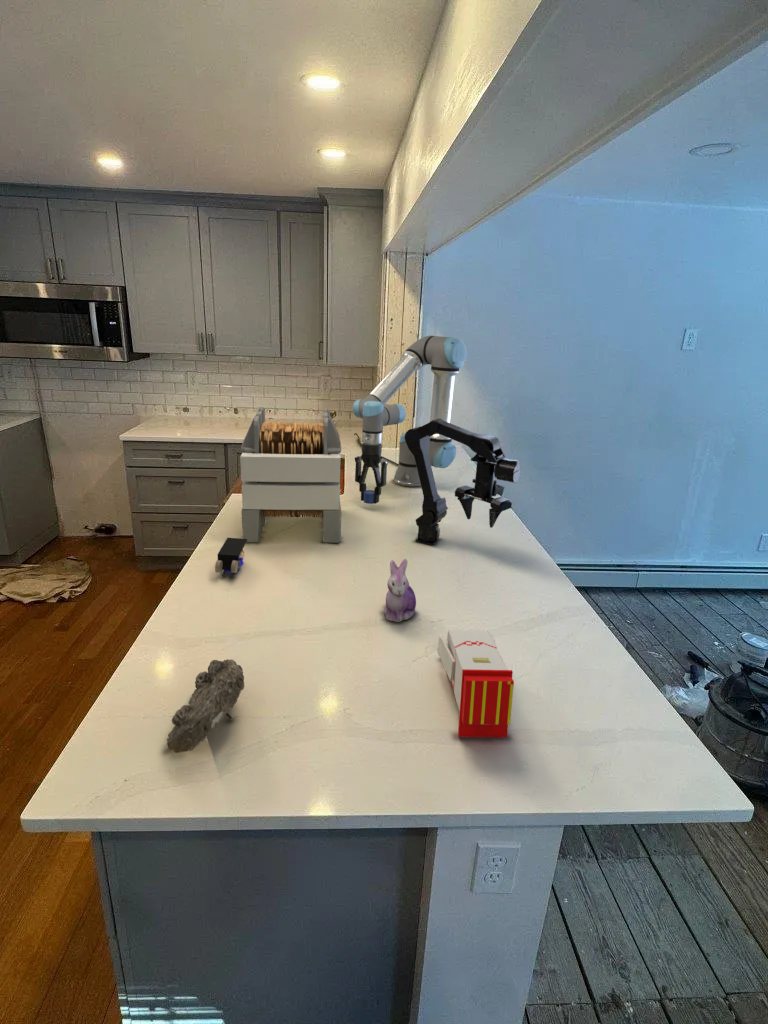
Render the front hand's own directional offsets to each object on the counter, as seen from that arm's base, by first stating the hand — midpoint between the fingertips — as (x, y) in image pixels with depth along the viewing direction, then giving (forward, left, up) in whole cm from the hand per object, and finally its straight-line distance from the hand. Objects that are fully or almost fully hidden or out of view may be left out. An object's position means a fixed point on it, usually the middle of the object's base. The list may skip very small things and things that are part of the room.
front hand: (479, 523), depth 182 cm
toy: (+18, -70, -11) cm, 73 cm away
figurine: (-8, -48, -11) cm, 50 cm away
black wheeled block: (-61, -48, -11) cm, 78 cm away
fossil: (-24, -101, -11) cm, 104 cm away
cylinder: (-49, +22, -8) cm, 55 cm away
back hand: (-49, +22, -8) cm, 55 cm away
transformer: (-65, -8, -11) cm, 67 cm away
